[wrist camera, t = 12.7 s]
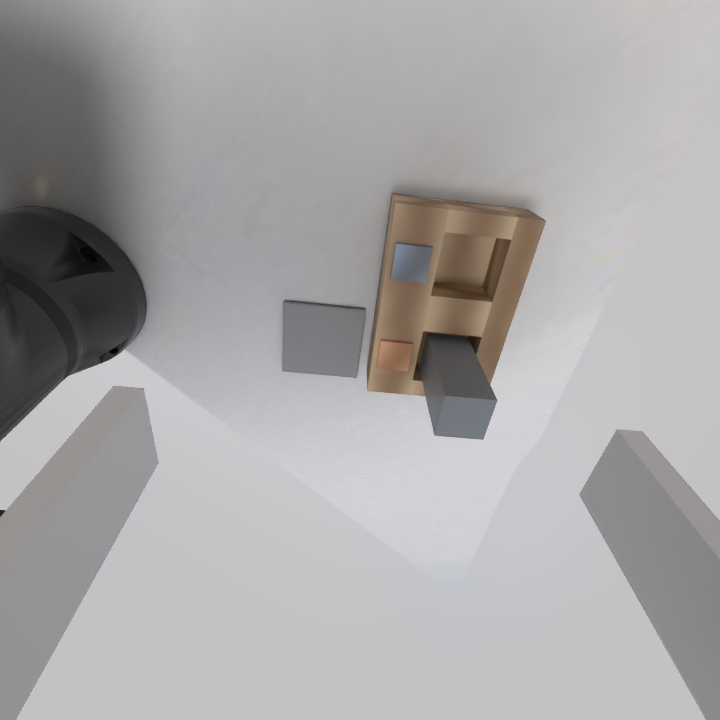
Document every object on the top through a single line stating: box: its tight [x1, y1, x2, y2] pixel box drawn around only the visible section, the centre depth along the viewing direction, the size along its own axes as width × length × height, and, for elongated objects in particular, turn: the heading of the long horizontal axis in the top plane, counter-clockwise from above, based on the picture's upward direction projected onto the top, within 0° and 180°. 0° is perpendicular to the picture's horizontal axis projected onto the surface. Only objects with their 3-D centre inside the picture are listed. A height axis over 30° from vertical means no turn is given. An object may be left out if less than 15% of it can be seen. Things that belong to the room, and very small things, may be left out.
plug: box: [417, 331, 497, 440], centre depth 37 cm, size 4×4×12 cm
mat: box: [282, 301, 365, 378], centre depth 43 cm, size 8×8×1 cm
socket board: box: [367, 194, 546, 396], centre depth 39 cm, size 12×18×4 cm, turn 174°
